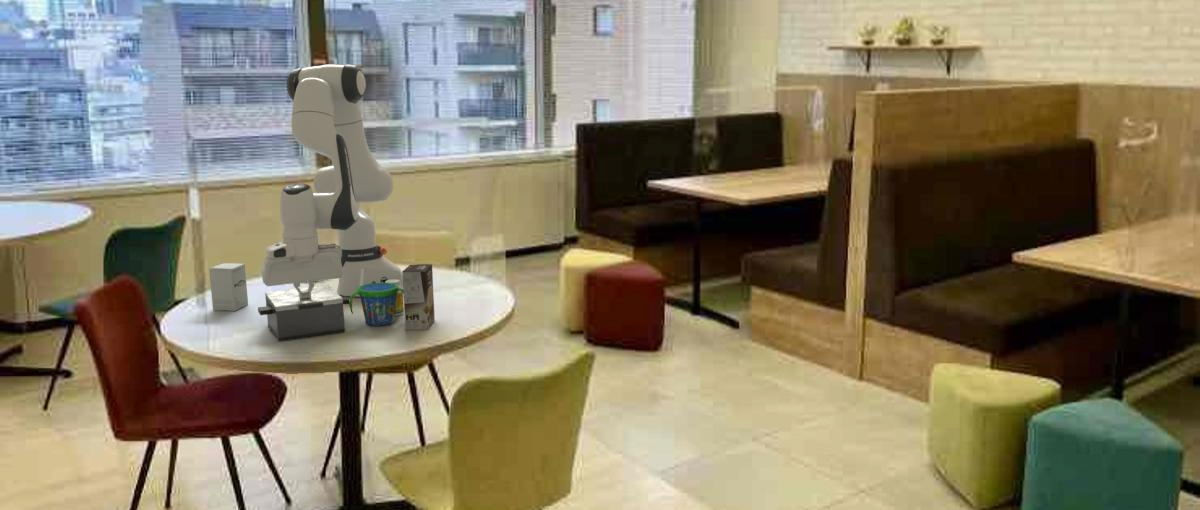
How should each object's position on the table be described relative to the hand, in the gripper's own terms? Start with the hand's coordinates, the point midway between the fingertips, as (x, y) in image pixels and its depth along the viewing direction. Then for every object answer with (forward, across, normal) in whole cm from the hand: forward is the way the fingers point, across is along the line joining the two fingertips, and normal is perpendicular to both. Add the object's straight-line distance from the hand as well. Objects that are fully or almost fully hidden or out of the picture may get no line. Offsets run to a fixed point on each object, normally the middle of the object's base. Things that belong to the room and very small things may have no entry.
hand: (305, 298), depth 258 cm
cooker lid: (+1, 0, -2) cm, 3 cm away
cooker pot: (+9, 0, -3) cm, 10 cm away
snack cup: (+10, -19, +1) cm, 21 cm away
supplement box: (+10, +15, -37) cm, 41 cm away
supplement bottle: (+10, -25, -6) cm, 28 cm away
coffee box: (+10, -28, +9) cm, 31 cm away
